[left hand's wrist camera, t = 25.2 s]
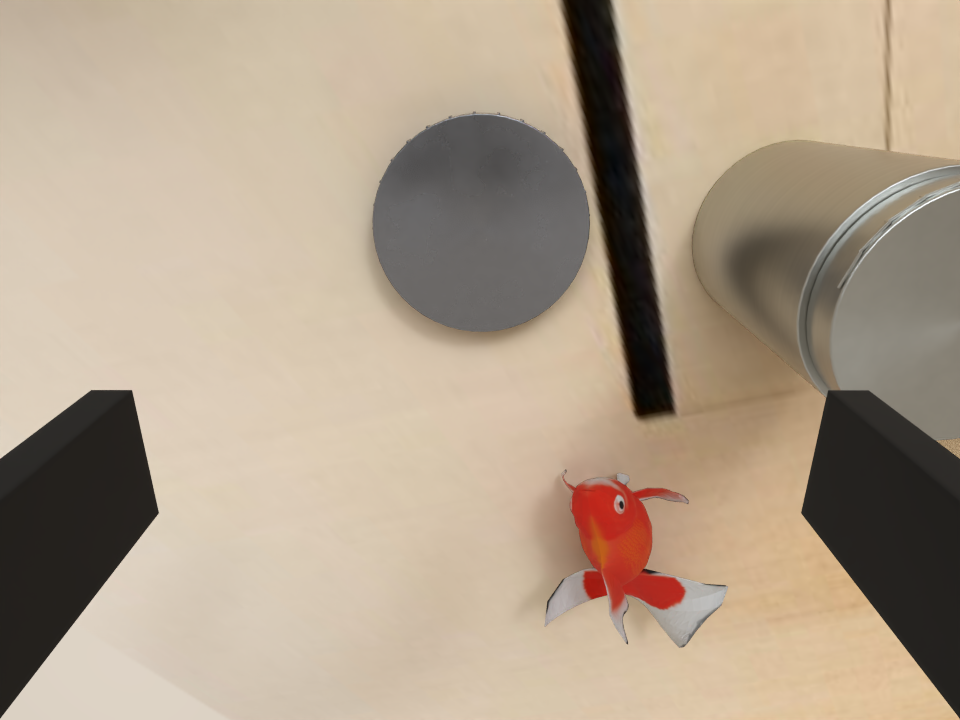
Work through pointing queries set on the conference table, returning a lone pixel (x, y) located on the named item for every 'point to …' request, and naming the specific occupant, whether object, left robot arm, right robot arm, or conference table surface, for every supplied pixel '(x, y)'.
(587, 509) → the fish
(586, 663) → the conference table surface
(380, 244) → the lid
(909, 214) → the jar
